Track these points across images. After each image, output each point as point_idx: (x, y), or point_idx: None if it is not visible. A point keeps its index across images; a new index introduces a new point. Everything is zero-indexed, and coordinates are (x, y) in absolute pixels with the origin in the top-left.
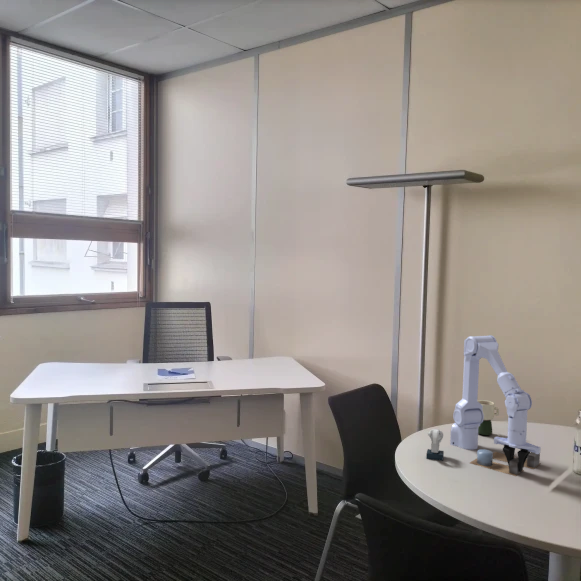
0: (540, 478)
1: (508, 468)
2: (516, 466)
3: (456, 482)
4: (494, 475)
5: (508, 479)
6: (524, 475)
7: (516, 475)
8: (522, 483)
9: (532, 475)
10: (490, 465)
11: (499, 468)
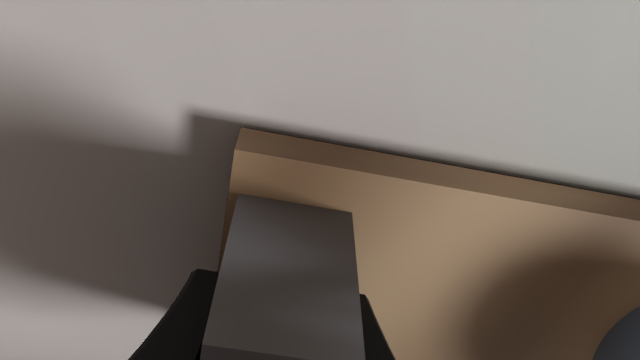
0: (8, 310)
1: None
2: (220, 288)
3: None
4: (549, 116)
5: (337, 76)
6: None
7: (234, 180)
8: (114, 34)
9: (115, 342)
10: (623, 322)
11: (498, 294)
